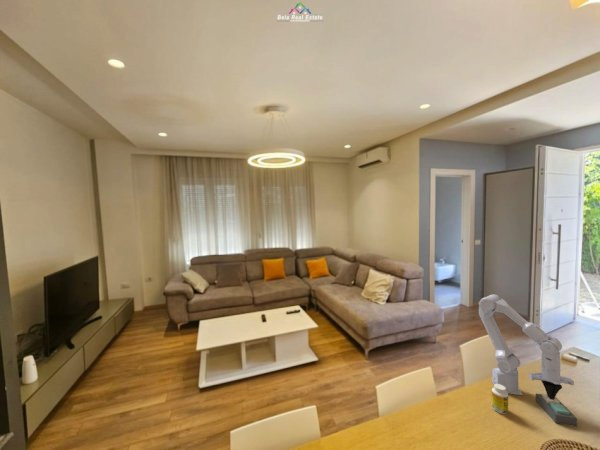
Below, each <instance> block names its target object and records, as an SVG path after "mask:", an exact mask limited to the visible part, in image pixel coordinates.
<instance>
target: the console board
mask: <svg viewBox="0 0 600 450" xmlns="http://www.w3.org/2000/svg"><path fill="white" fill-rule="evenodd" d="M535 401H536V402H537V404H538V405H539V406H540V407H541V408H542V410H543V411H544V412H545V413H546V414H547V415H548V416H549V417H550V419H551V420H552V421H553V423H555V424H559V425H565V426H571V427H578V423H577V424H573V423H567V422H560V421H555V420H554V419H553V417H552V416H551V415H550V414H549V413H548V412H547V411H546V410H545V408H544V407H543V406H542V405H541V404H540V403H539V402H538V400H537V399H536V398H535Z"/></svg>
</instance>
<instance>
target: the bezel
mask: <svg viewBox="0 0 600 450" xmlns="http://www.w3.org/2000/svg"><path fill="white" fill-rule="evenodd" d="M542 394H543V393H535V400H536V399H537V400H538V402H539V403H540V404H541V405H542V406H543V407H544V408H545V410H546V411H547V412H548V413H549V414H550V415H551V416H552V417H553V419H554V420H555V421H560V422H567V423H573V424H577V425H578V418H577V417H576V415H574V413H572V412H571V411H570V410H569V409H568V407H566V405H565V404H564V403H563V402H561V401H560V400H559V398H558V397H557V396H555V398H556V399H557V400H558V401H559V402H560V405H563V406H564V407H565V408H566V409H567V410H568V411H569V412H570V415H566V414H559V413H556V412H555V411H554V410H553V409H552V408H551V407H550V404H549V403H547V402H546V401H545V400H544V399H543V398H542Z"/></svg>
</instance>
